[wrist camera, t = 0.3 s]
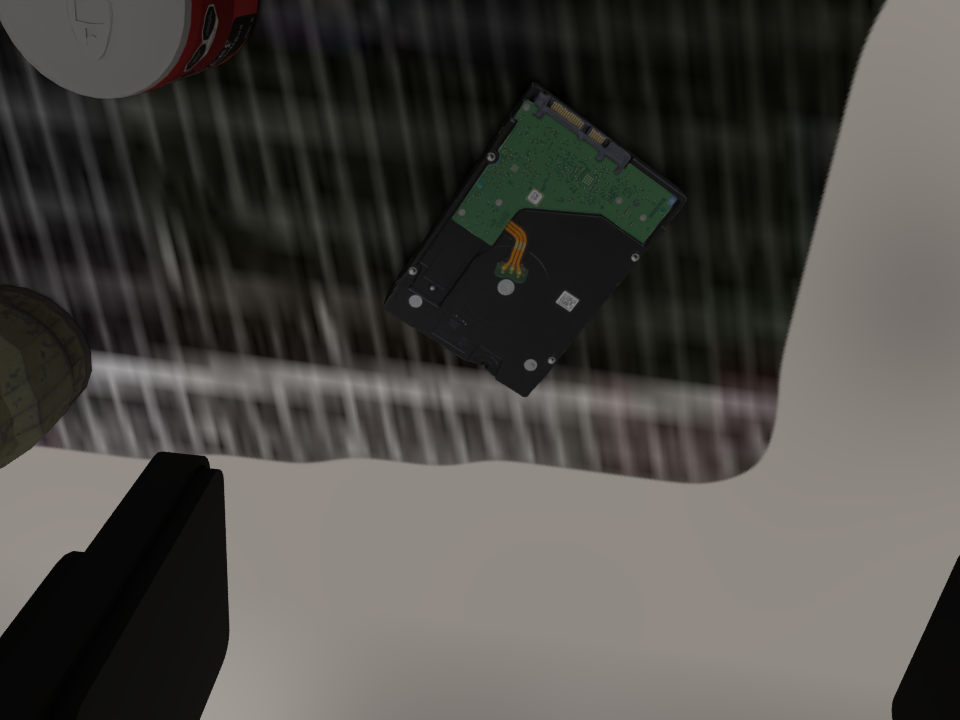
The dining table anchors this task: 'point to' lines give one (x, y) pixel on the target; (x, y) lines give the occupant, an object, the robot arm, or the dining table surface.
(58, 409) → the thermos
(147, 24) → the canned food
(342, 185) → the dining table surface
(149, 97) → the dining table surface
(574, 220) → the disk drive
